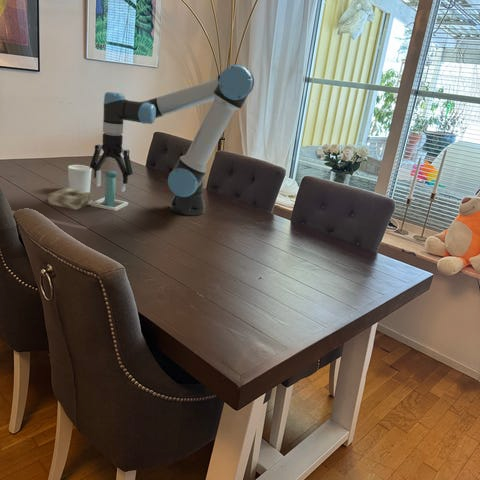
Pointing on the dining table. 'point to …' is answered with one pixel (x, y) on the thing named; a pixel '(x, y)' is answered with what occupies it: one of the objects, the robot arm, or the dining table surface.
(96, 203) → the tray
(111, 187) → the plug
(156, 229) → the dining table surface
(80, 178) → the candle holder
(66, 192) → the beige socket block
